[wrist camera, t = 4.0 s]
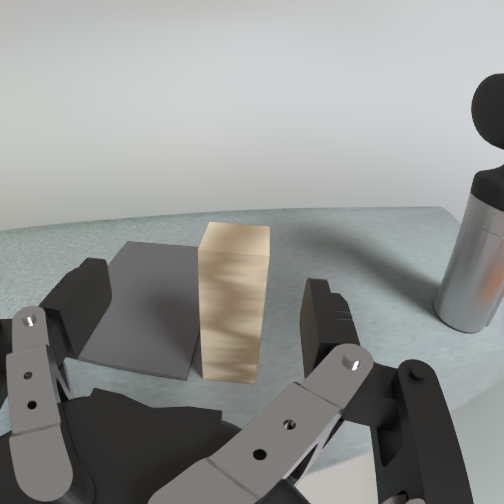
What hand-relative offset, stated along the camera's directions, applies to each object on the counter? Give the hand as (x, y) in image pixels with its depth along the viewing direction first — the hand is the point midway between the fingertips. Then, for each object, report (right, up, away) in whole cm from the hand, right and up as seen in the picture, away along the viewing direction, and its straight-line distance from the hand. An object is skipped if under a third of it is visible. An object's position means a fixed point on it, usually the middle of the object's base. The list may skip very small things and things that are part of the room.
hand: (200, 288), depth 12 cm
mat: (-11, -4, +28) cm, 31 cm away
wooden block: (0, -10, +19) cm, 21 cm away
